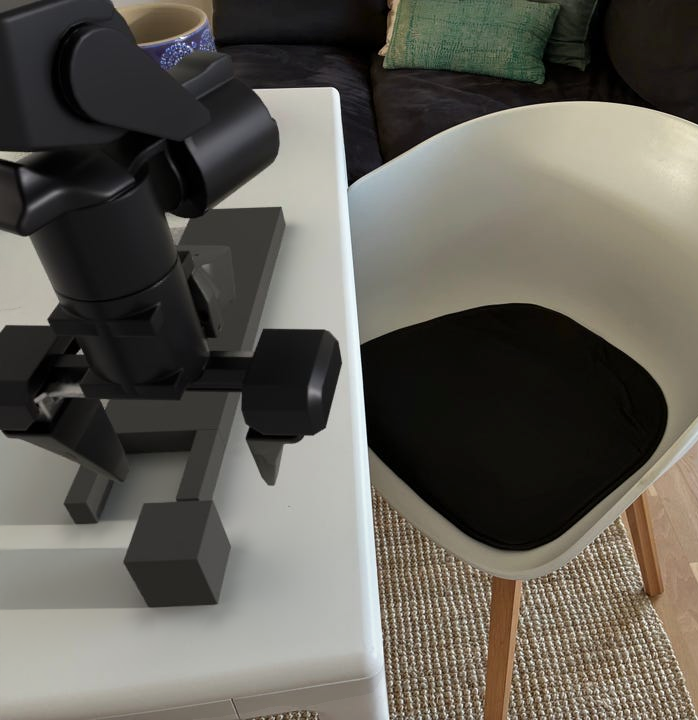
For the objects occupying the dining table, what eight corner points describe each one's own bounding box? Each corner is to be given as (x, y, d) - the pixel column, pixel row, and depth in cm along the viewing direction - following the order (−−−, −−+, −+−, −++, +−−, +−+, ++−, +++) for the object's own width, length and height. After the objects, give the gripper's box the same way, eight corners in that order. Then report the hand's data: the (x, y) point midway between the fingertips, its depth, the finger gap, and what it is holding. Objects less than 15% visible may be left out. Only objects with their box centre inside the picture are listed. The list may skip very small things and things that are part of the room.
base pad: (207, 518, 59) (198, 498, 58) (74, 524, 59) (62, 503, 57) (285, 225, 90) (281, 206, 89) (199, 228, 90) (193, 209, 88)
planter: (219, 160, 102) (189, 45, 92) (93, 163, 102) (49, 49, 92) (245, 106, 114) (221, 0, 105) (132, 109, 114) (98, 3, 104)
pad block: (217, 604, 54) (197, 559, 50) (148, 607, 54) (122, 562, 50) (231, 546, 57) (213, 499, 54) (166, 548, 57) (143, 502, 54)
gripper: (339, 183, 43) (370, 389, 53) (6, 180, 43) (101, 384, 54) (296, 308, 34) (342, 523, 45) (-116, 303, 35) (24, 516, 45)
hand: (198, 478), depth 47 cm, fingers open, 9 cm apart
